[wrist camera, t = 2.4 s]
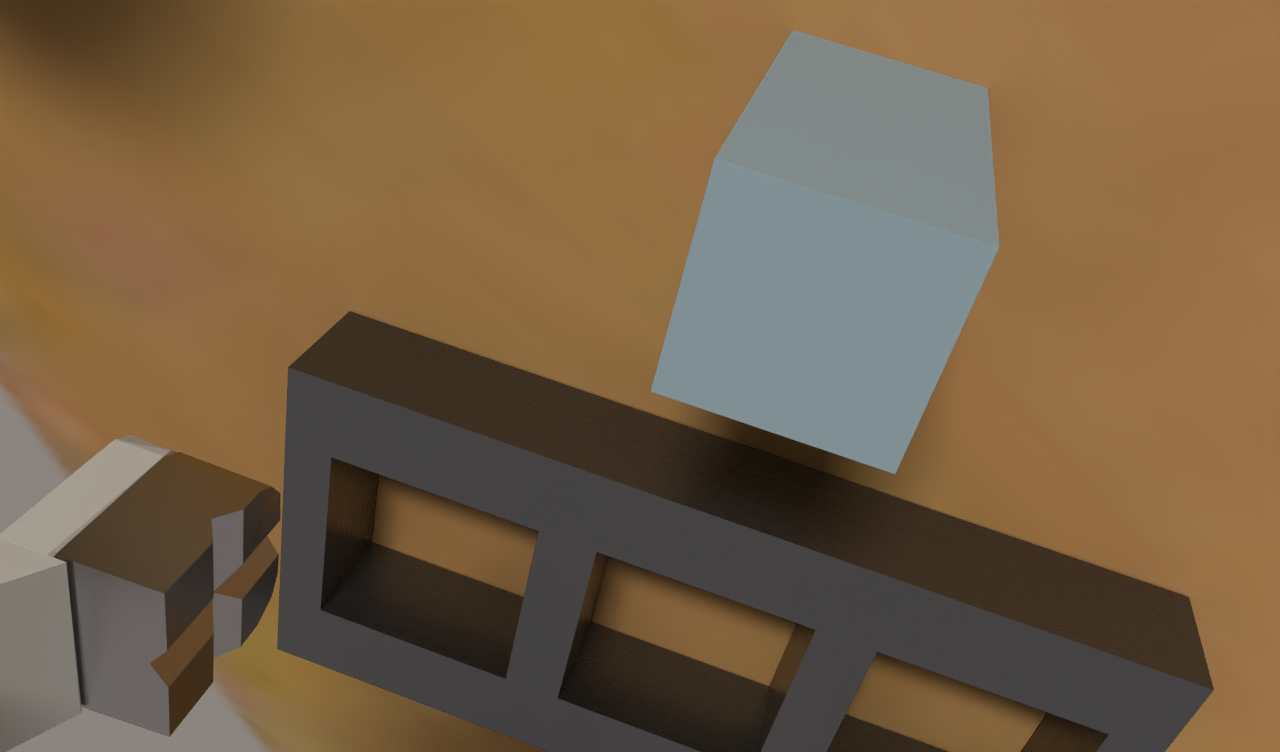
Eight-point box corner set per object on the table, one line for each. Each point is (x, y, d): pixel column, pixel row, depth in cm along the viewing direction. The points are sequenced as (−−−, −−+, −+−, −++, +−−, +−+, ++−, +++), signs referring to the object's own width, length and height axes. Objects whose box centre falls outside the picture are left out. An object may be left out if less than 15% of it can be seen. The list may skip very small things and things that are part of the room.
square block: (987, 87, 21) (999, 247, 14) (914, 263, 23) (895, 473, 16) (793, 30, 21) (714, 158, 14) (739, 208, 23) (650, 391, 17)
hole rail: (1189, 596, 25) (1213, 689, 23) (1017, 835, 31) (1022, 930, 28) (349, 311, 27) (288, 367, 25) (328, 580, 33) (277, 648, 30)
